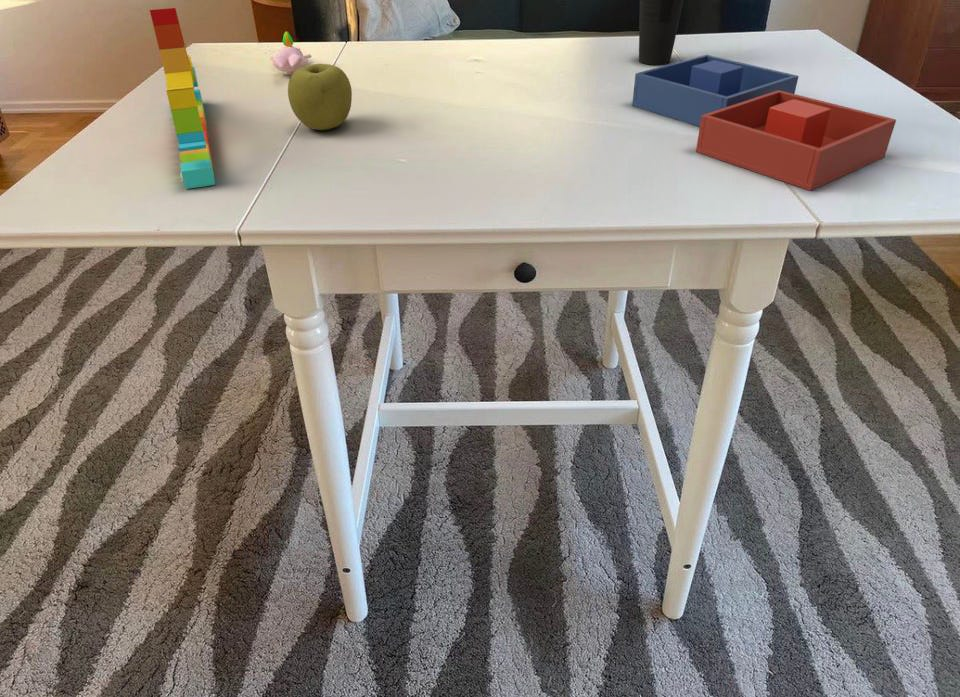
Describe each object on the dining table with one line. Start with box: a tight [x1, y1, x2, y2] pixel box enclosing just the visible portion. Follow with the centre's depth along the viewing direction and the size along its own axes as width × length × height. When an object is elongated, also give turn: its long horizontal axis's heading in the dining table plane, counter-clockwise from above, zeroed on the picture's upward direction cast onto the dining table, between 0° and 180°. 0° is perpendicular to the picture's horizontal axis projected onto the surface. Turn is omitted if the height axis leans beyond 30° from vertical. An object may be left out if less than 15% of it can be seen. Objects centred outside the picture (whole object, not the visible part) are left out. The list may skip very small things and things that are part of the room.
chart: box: [149, 7, 216, 190], centre depth 83 cm, size 30×3×15 cm, turn 20°
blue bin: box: [631, 54, 800, 128], centre depth 93 cm, size 14×14×4 cm
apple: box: [287, 63, 353, 131], centre depth 88 cm, size 8×8×7 cm
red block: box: [764, 99, 831, 148], centre depth 78 cm, size 4×4×4 cm
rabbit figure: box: [269, 30, 312, 76], centre depth 109 cm, size 6×6×15 cm
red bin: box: [695, 90, 897, 192], centre depth 79 cm, size 14×14×4 cm
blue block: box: [689, 60, 744, 97], centre depth 92 cm, size 4×4×4 cm
